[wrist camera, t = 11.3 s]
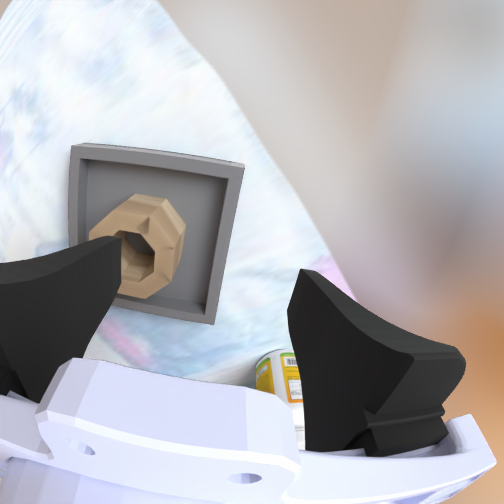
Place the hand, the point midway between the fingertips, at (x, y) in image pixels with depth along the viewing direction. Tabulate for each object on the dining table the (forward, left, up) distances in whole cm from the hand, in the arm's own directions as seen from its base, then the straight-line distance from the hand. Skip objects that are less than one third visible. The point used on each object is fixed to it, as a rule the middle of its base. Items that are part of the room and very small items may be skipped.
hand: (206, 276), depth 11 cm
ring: (-2, +5, -9) cm, 10 cm away
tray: (-3, +5, -10) cm, 11 cm away
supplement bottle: (-14, -8, -10) cm, 19 cm away
